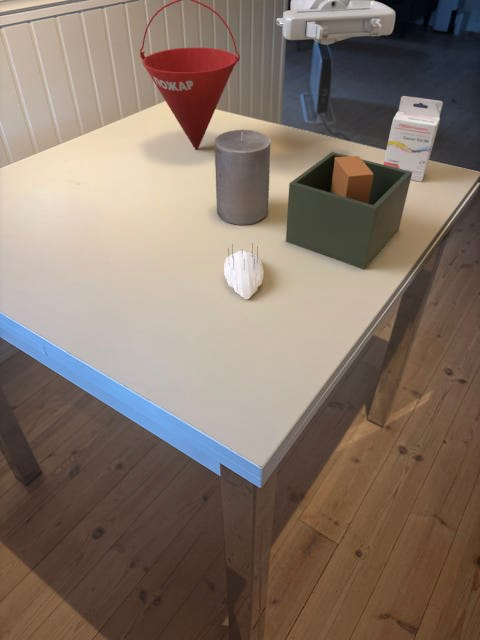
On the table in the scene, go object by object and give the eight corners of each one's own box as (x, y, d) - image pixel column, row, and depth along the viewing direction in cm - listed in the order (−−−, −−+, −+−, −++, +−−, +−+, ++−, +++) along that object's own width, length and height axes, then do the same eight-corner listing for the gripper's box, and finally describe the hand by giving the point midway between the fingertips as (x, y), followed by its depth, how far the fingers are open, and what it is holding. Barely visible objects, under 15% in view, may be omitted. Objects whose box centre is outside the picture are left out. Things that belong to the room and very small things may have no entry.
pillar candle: (215, 201, 95) (211, 123, 85) (265, 198, 96) (267, 120, 86) (218, 227, 88) (215, 145, 78) (272, 224, 88) (275, 142, 78)
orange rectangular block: (348, 220, 87) (358, 155, 79) (361, 241, 82) (373, 174, 74) (326, 222, 87) (334, 157, 79) (338, 243, 82) (348, 176, 74)
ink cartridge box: (380, 175, 103) (394, 102, 93) (385, 165, 106) (399, 94, 96) (422, 182, 100) (441, 108, 90) (426, 172, 103) (445, 100, 93)
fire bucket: (137, 162, 109) (112, 4, 89) (167, 130, 123) (151, -13, 103) (231, 171, 105) (227, 7, 85) (250, 136, 119) (251, -11, 99)
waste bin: (325, 206, 93) (331, 151, 86) (398, 229, 86) (412, 171, 79) (285, 241, 84) (289, 183, 77) (364, 269, 78) (376, 208, 70)
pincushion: (222, 256, 81) (221, 226, 77) (259, 254, 81) (260, 224, 77) (225, 302, 72) (224, 270, 68) (266, 300, 72) (267, 268, 68)
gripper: (274, -1, 90) (292, 13, 80) (380, -6, 92) (410, 7, 82) (273, 38, 94) (290, 56, 84) (374, 32, 96) (403, 49, 86)
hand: (350, 32), depth 83 cm, fingers open, 8 cm apart
